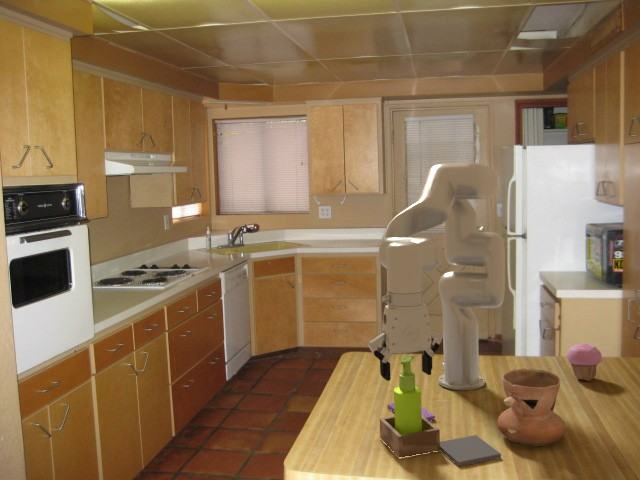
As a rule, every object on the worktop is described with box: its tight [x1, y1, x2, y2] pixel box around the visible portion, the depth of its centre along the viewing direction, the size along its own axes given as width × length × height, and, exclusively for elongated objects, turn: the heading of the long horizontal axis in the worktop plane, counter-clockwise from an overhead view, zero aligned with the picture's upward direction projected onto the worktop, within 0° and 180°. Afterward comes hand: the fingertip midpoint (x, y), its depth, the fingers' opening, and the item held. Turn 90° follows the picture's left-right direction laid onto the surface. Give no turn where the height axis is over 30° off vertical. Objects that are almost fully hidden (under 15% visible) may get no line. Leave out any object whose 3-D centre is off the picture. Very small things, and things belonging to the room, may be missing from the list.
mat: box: [440, 434, 502, 467], centre depth 142 cm, size 10×10×1 cm
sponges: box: [387, 402, 436, 422], centre depth 164 cm, size 7×13×2 cm, turn 20°
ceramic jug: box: [497, 368, 567, 447], centre depth 147 cm, size 18×14×14 cm
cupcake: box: [566, 343, 603, 382], centre depth 182 cm, size 9×9×10 cm
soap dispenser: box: [393, 355, 422, 435], centre depth 145 cm, size 6×7×20 cm
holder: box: [379, 415, 441, 458], centre depth 146 cm, size 11×10×5 cm
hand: (406, 376), depth 144 cm, fingers open, 9 cm apart
